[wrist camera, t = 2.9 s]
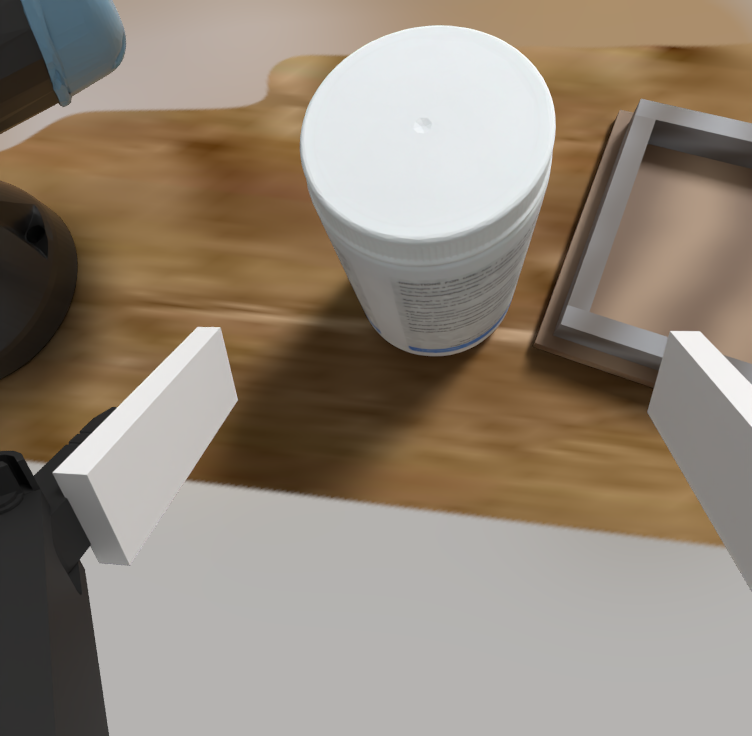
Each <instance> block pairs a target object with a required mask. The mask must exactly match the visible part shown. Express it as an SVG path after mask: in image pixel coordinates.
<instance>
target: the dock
mask: <svg viewBox="0 0 752 736" xmlns="http://www.w3.org/2000/svg"><path fill="white" fill-rule="evenodd" d="M670 331H700V332H701V333H702V334H703V335H704V336H705V337H706V338H707V339H708V340H709V341H710V342H711V343H712V344H713V345H714V346H715V347H716V348H717V349H718V350H719V351H720V352H721V353H722V355H723V356H724V357H725V358H726V359H727V360H728V361H729V362H730V363H731V364H732V365H733V366H734V367H735V368H736V369H737V370H738V371H739V372H740V373H741V374H742V375H743V376H744V377H745V378H746V379H747V380H748V381H749V382H750V383H751V384H752V124H751V123H747V122H743V121H738V120H734V119H729V118H725V117H720V116H716V115H711V114H707V113H702V112H698V111H693V110H689V109H684V108H680V107H676V106H671V105H667V104H662V103H658V102H653V101H649V100H644V99H641V100H640V102H639V104H638V106H637V108H636V110H635V112H634V113H632V112H628V111H624V110H620V111H619V113H618V115H617V117H616V120H615V122H614V125H613V128H612V131H611V133H610V136H609V139H608V142H607V144H606V147H605V150H604V153H603V155H602V158H601V161H600V164H599V166H598V169H597V172H596V174H595V177H594V180H593V183H592V185H591V188H590V191H589V194H588V196H587V199H586V202H585V205H584V207H583V210H582V213H581V216H580V218H579V221H578V224H577V227H576V229H575V232H574V235H573V238H572V240H571V243H570V246H569V249H568V251H567V254H566V257H565V260H564V262H563V265H562V268H561V271H560V273H559V276H558V279H557V282H556V284H555V287H554V290H553V293H552V295H551V298H550V301H549V304H548V306H547V309H546V312H545V315H544V317H543V320H542V323H541V326H540V328H539V331H538V334H537V336H536V339H535V342H534V345H533V347H535V348H538V349H541V350H544V351H547V352H550V353H552V354H555V355H558V356H561V357H564V358H567V359H570V360H573V361H576V362H579V363H582V364H585V365H587V366H590V367H593V368H596V369H599V370H602V371H605V372H608V373H611V374H614V375H617V376H619V377H622V378H625V379H628V380H631V381H634V382H637V383H640V384H643V385H646V386H649V387H652V388H654V386H655V383H656V379H657V376H658V372H659V368H660V365H661V361H662V358H663V354H664V350H665V347H666V343H667V340H668V336H669V333H670Z"/></svg>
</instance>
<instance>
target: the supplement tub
mask: <svg viewBox="0 0 752 736" xmlns="http://www.w3.org/2000/svg"><path fill="white" fill-rule="evenodd" d="M555 130H556V125H555V112H554V105H553V101H552V97H551V95H550V92H549V89H548V87H547V85H546V83H545V81H544V79H543V77H542V76H541V74H540V73H539V72H538V70H537V69H536V68H535V66H534V65H533V64H532V63H531V62H530V61H529V60H528V59H527V58H526V57H525V56H524V55H523V54H522V53H520V52H519V51H518V50H517V49H515V48H514V47H512V46H511V45H509V44H508V43H506V42H504V41H503V40H500V39H498V38H496V37H494V36H491V35H489V34H486V33H483V32H480V31H477V30H473V29H468V28H463V27H455V26H426V27H417V28H411V29H406V30H402V31H398V32H395V33H392V34H389V35H386V36H383V37H381V38H379V39H377V40H375V41H373V42H370V43H368V44H366V45H365V46H363V47H361V48H360V49H358V50H356V51H355V52H354V53H352V54H351V55H349V56H348V57H347V58H345V59H344V60H343V61H342V62H341V63H340V64H339V65H338V66H337V67H335V68H334V69H333V70H332V71H331V72H330V73H329V75H328V76H327V77H326V78H325V80H324V81H323V82H322V83H321V85H320V86H319V88H318V89H317V91H316V92H315V94H314V96H313V98H312V99H311V101H310V103H309V106H308V108H307V110H306V114H305V117H304V120H303V125H302V129H301V136H300V155H301V162H302V167H303V170H304V174H305V177H306V179H307V185H308V190H309V193H310V196H311V199H312V202H313V204H314V206H315V208H316V211H317V213H318V215H319V217H320V219H321V222H322V224H323V226H324V228H325V230H326V232H327V234H328V236H329V238H330V241H331V243H332V245H333V247H334V249H335V251H336V253H337V255H338V257H339V260H340V262H341V264H342V266H343V268H344V270H345V272H346V274H347V276H348V279H349V281H350V283H351V285H352V287H353V289H354V291H355V293H356V295H357V297H358V300H359V302H360V304H361V306H362V308H363V310H364V312H365V314H366V316H367V318H368V320H369V321H370V323H371V325H372V326H373V327H374V329H375V330H376V331H377V332H378V333H379V334H380V335H381V336H382V337H383V338H384V339H385V340H386V341H388V342H389V343H390V344H392V345H394V346H395V347H397V348H399V349H402V350H404V351H406V352H409V353H413V354H417V355H424V356H447V355H453V354H456V353H460V352H463V351H465V350H468V349H470V348H472V347H474V346H476V345H478V344H479V343H481V342H482V341H483V340H485V339H486V338H487V337H488V336H489V335H490V334H492V333H493V332H494V331H495V329H496V328H497V327H498V326H499V325H500V323H501V322H502V320H503V319H504V317H505V315H506V313H507V311H508V308H509V306H510V303H511V300H512V297H513V294H514V291H515V288H516V285H517V281H518V278H519V275H520V272H521V269H522V266H523V262H524V259H525V256H526V253H527V250H528V247H529V243H530V240H531V237H532V234H533V231H534V227H535V224H536V221H537V218H538V215H539V211H540V208H541V205H542V202H543V198H544V194H545V191H546V188H547V184H548V180H549V175H550V168H551V162H552V150H553V145H554V140H555Z"/></svg>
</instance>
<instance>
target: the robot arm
mask: <svg viewBox="0 0 752 736" xmlns="http://www.w3.org/2000/svg"><path fill="white" fill-rule="evenodd" d="M125 49H126V36H125V31H124V27H123V24H122V21H121V19H120V17H119V14H118V12H117V10H116V7H115V5H114V3H113V1H112V0H0V134H1V133H3V132H5V131H7V130H9V129H11V128H13V127H14V126H16V125H18V124H20V123H22V122H24V121H26V120H28V119H29V118H31V117H33V116H35V115H37V114H39V113H41V112H42V111H44V110H46V109H48V108H50V107H52V106H54V105H55V104H57V103H59V104H60V106H63V107H65V106H67V105H69V104H70V103H71V98H72V96H74V95H75V94H77V93H79V92H80V91H82V90H83V89H85V88H87V87H89V86H90V85H92V84H94V83H95V82H97V81H98V80H100V79H102V78H103V77H105V76H107V75H109V74H110V73H111V72H113V71H114V70H115V69H116V68H117V67H118V66H119V65H120V63H121V62H122V60H123V57H124V54H125ZM76 279H77V254H76V249H75V245H74V241H73V238H72V236H71V234H70V232H69V230H68V228H67V226H66V225H65V223H64V222H63V221H62V219H61V218H60V217H59V216H58V215H57V214H56V213H55V212H53V211H52V210H51V209H50V208H48V207H47V206H45V205H44V204H43V203H41V202H40V201H38V200H37V199H36V198H34V197H33V196H32V195H30V194H28V193H27V192H25V191H23V190H21V189H20V188H18V187H16V186H13V185H11V184H8V183H5V182H2V181H0V379H1V378H3V377H5V376H7V375H9V374H11V373H12V372H14V371H16V370H17V369H19V368H20V367H21V366H23V365H24V364H26V363H27V362H28V361H29V360H31V359H32V358H33V357H34V356H35V355H36V354H37V353H38V352H39V351H40V350H41V349H42V348H43V347H44V346H45V345H46V344H47V342H48V341H49V340H50V339H51V337H52V336H53V335H54V333H55V332H56V330H57V329H58V327H59V326H60V324H61V322H62V321H63V319H64V317H65V315H66V313H67V310H68V308H69V306H70V303H71V300H72V297H73V294H74V290H75V286H76ZM237 401H238V398H237V394H236V390H235V386H234V382H233V377H232V373H231V369H230V365H229V361H228V357H227V352H226V348H225V344H224V340H223V336H222V332H221V327H197V328H196V329H195V330H194V331H193V332H192V333H191V334H190V335H189V336H188V337H187V338H186V339H185V340H184V341H183V342H182V343H181V344H180V345H179V346H178V347H177V348H176V349H175V350H174V351H173V352H172V353H171V354H170V355H169V356H168V357H167V358H166V359H165V360H164V361H163V362H162V363H161V364H160V365H159V366H158V367H157V368H156V369H155V370H154V371H153V372H152V373H151V374H150V375H149V376H148V377H147V378H146V379H145V380H144V381H143V382H142V383H141V384H140V385H139V386H138V387H137V388H136V389H135V390H134V391H133V392H132V393H131V394H130V395H129V396H128V397H127V398H126V399H125V400H124V401H123V402H122V403H121V404H120V405H119V406H118V407H112V408H110V409H108V410H107V411H105V412H103V413H102V414H100V415H98V416H96V417H95V418H93V419H92V420H91V421H90V422H89V423H88V424H87V425H86V426H85V427H84V428H83V429H82V430H81V431H80V434H77V435H76V436H75V437H74V438H72V439H71V440H70V441H69V445H65V446H64V447H63V448H62V449H61V450H60V451H59V452H58V453H57V454H56V455H55V456H54V457H53V458H52V459H51V460H50V461H49V462H48V463H47V464H46V465H45V466H44V467H42V469H40V470H39V472H37V473H36V474H35V475H34V476H33V474H32V472H31V470H30V469H29V467H28V465H27V463H26V461H25V459H24V458H23V456H22V454H21V453H18V452H15V451H0V736H109V732H108V726H107V719H106V712H105V705H104V698H103V691H102V684H101V677H100V670H99V663H98V657H97V650H96V643H95V636H94V630H93V623H92V615H91V609H90V602H89V595H88V588H87V582H86V574H85V569H84V567H83V565H82V563H81V562H80V558H81V557H82V556H83V554H84V553H85V552H86V550H87V549H88V548H89V546H91V548H92V550H93V552H94V554H95V556H96V558H97V560H98V562H99V563H104V564H116V565H129V566H130V565H131V563H132V562H133V560H134V559H135V557H136V556H137V554H138V553H139V551H140V550H141V548H142V547H143V545H144V543H145V542H146V540H147V539H148V537H149V536H150V534H151V533H152V531H153V530H154V528H155V527H156V525H157V523H158V522H159V520H160V519H161V517H162V516H163V514H164V513H165V511H166V510H167V508H168V506H169V505H170V504H171V502H172V500H173V499H174V497H175V496H176V494H177V493H178V491H179V490H180V488H181V487H182V485H183V484H184V482H185V480H186V479H187V477H188V476H189V474H190V473H191V471H192V470H193V468H194V467H195V465H196V464H197V462H198V460H199V459H200V457H201V456H202V454H203V453H204V451H205V450H206V448H207V447H208V445H209V444H210V442H211V441H212V439H213V437H214V436H215V434H216V433H217V431H218V430H219V428H220V427H221V425H222V424H223V422H224V421H225V419H226V417H227V416H228V414H229V413H230V411H231V410H232V408H233V407H234V405H235V404H236V402H237ZM647 413H648V414H649V416H650V418H651V419H652V421H653V423H654V425H655V426H656V428H657V430H658V431H659V433H660V435H661V437H662V438H663V440H664V442H665V444H666V445H667V447H668V449H669V450H670V452H671V454H672V456H673V457H674V459H675V461H676V462H677V464H678V466H679V468H680V469H681V471H682V473H683V474H684V476H685V478H686V480H687V481H688V483H689V485H690V487H691V488H692V490H693V492H694V493H695V495H696V497H697V499H698V500H699V502H700V504H701V505H702V507H703V509H704V511H705V512H706V514H707V516H708V517H709V519H710V521H711V523H712V524H713V526H714V528H715V530H716V531H717V533H718V535H719V536H720V538H721V540H722V542H723V543H724V545H725V547H726V548H727V550H728V552H729V554H730V555H731V557H732V559H733V560H734V562H735V564H736V566H737V567H738V569H739V571H740V573H741V574H742V576H743V578H744V579H745V581H746V583H747V585H748V586H749V588H750V590H751V591H752V384H751V383H750V382H749V381H748V380H747V379H746V378H745V377H744V376H743V375H742V374H741V373H740V372H739V371H738V370H737V369H736V368H735V367H734V366H733V365H732V364H731V363H730V362H729V361H728V360H727V359H726V358H725V357H724V356H723V355H722V353H721V352H720V351H719V350H718V349H717V348H716V347H715V346H714V345H713V344H712V343H711V342H710V341H709V340H708V339H707V338H706V337H705V336H704V335H703V334H702V333H701V332H700V331H670V333H669V336H668V340H667V343H666V347H665V350H664V354H663V358H662V361H661V365H660V368H659V372H658V376H657V379H656V383H655V386H654V390H653V393H652V397H651V401H650V404H649V408H648V411H647Z"/></svg>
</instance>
